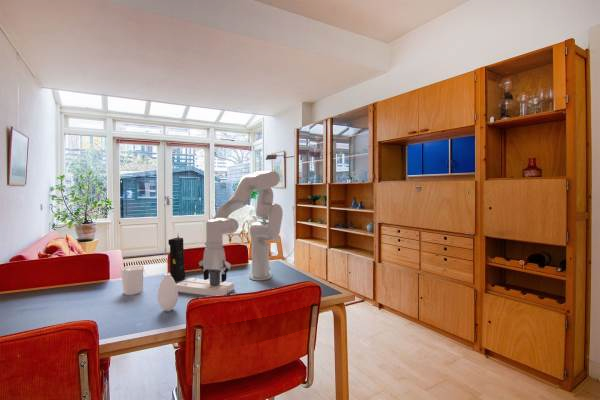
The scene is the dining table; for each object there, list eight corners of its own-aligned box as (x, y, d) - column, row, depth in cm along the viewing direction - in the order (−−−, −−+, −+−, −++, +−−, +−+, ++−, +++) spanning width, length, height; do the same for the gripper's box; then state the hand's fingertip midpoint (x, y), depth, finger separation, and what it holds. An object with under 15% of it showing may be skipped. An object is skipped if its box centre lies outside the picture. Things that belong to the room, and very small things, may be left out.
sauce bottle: (157, 315, 126) (156, 271, 125) (158, 308, 134) (157, 266, 133) (178, 312, 130) (177, 269, 129) (177, 305, 137) (177, 264, 136)
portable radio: (177, 282, 169) (177, 235, 168) (167, 281, 170) (166, 235, 169) (185, 277, 177) (185, 233, 175) (176, 277, 178) (175, 233, 177)
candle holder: (148, 290, 156) (148, 266, 155) (130, 296, 147) (130, 271, 147) (135, 287, 160) (134, 264, 160) (117, 293, 151) (116, 268, 151)
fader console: (189, 285, 164) (189, 277, 164) (234, 290, 156) (234, 282, 156) (174, 292, 152) (173, 284, 152) (221, 299, 144) (220, 289, 144)
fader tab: (214, 288, 154) (214, 269, 154) (220, 289, 154) (219, 269, 153) (210, 291, 151) (209, 271, 150) (215, 292, 150) (215, 272, 149)
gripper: (194, 245, 150) (194, 280, 151) (226, 247, 145) (226, 284, 146) (203, 242, 157) (204, 276, 158) (234, 244, 152) (234, 279, 153)
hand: (215, 280), depth 152 cm, fingers open, 9 cm apart
